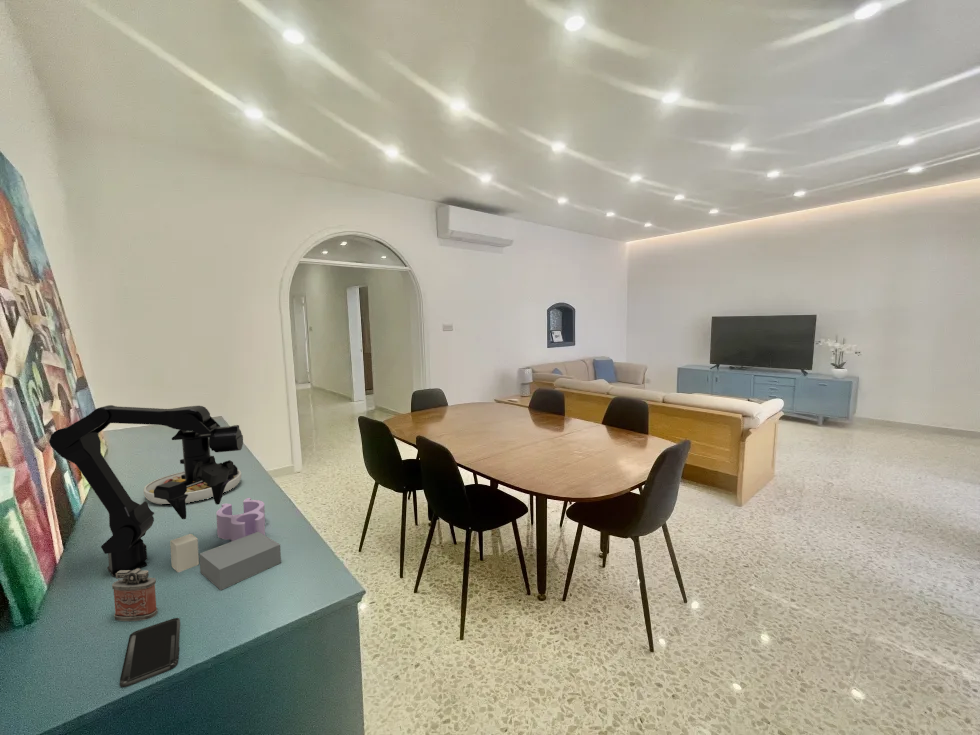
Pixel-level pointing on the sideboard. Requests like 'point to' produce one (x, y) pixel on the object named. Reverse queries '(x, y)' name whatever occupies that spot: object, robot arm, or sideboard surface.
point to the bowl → (193, 492)
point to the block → (184, 552)
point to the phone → (151, 652)
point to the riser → (239, 559)
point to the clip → (241, 520)
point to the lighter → (134, 595)
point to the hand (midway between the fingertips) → (201, 511)
